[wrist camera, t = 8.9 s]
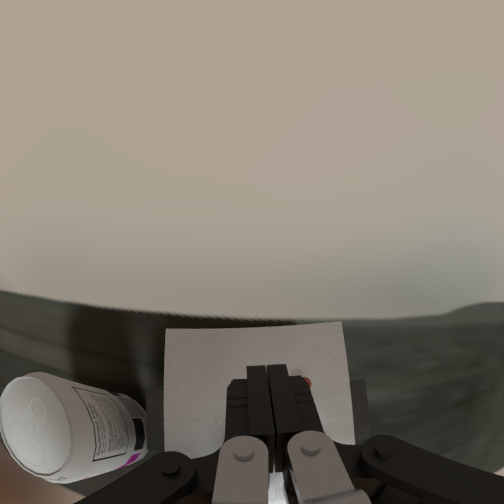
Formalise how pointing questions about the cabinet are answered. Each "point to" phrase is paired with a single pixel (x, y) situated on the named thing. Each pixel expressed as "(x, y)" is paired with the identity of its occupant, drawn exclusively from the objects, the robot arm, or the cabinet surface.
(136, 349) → the cabinet surface
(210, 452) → the lid
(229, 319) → the cabinet surface
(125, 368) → the cabinet surface
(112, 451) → the supplement can
